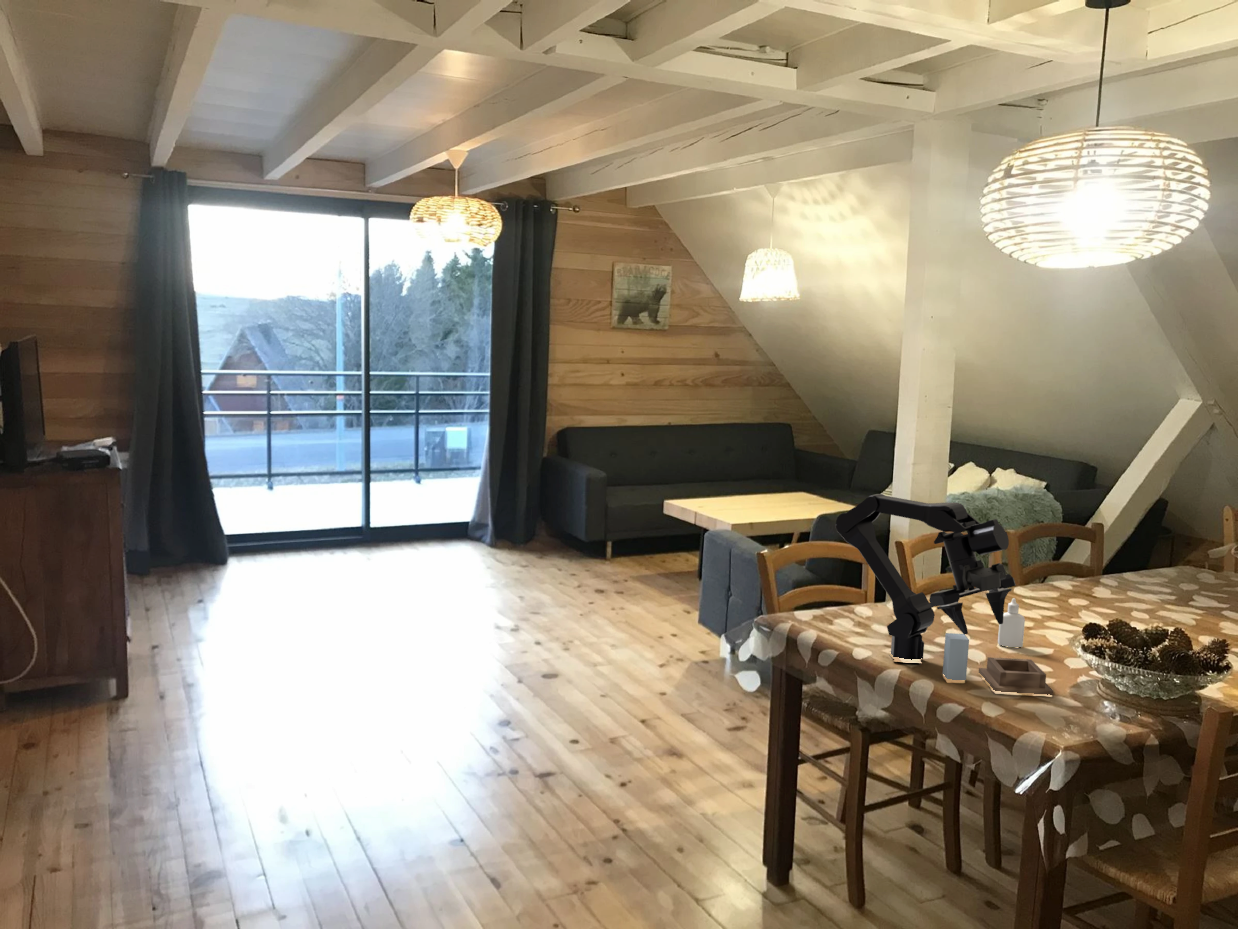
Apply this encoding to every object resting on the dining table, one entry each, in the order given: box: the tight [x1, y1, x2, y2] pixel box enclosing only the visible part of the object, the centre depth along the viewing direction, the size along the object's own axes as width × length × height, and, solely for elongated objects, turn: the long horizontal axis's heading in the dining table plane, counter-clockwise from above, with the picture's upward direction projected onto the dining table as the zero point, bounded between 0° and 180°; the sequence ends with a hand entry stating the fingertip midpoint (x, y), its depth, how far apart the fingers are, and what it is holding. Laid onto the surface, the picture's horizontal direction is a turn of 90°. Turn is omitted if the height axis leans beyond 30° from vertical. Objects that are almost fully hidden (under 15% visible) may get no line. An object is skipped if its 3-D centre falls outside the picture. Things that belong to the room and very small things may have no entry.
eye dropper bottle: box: [997, 597, 1026, 648], centre depth 236 cm, size 4×6×12 cm
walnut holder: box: [978, 657, 1054, 696], centre depth 210 cm, size 12×12×4 cm
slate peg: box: [942, 632, 970, 681], centre depth 212 cm, size 4×4×10 cm
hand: (983, 629), depth 211 cm, fingers open, 9 cm apart
